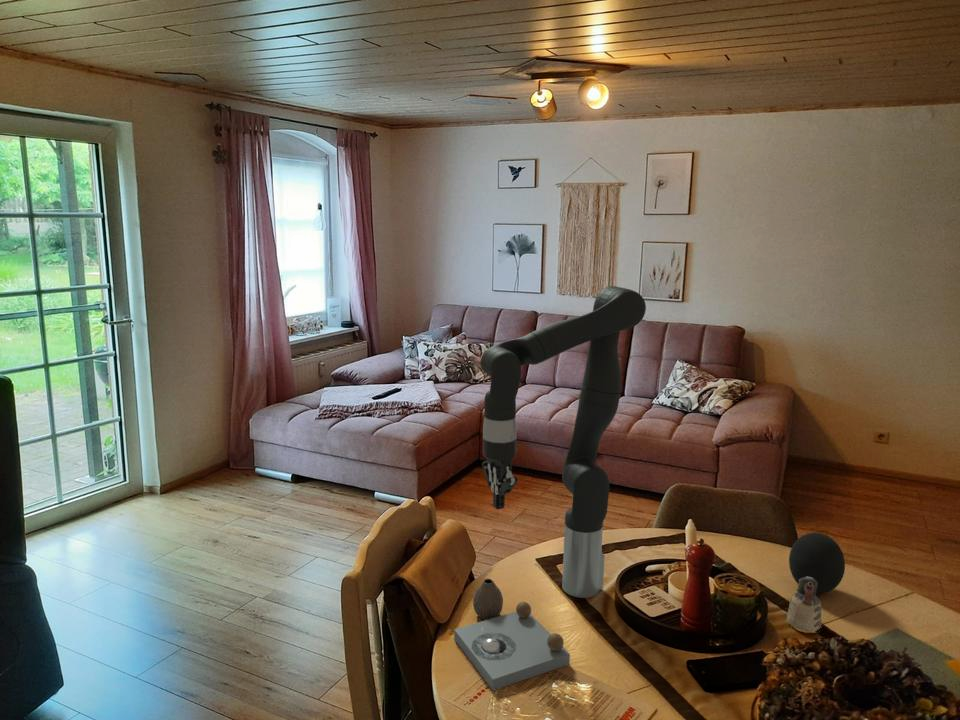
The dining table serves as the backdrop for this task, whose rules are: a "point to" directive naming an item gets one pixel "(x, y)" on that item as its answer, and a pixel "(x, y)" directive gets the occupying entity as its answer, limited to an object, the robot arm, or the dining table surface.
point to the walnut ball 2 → (555, 642)
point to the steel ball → (491, 646)
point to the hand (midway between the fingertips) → (498, 507)
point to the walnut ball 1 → (523, 609)
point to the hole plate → (510, 649)
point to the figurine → (805, 606)
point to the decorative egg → (817, 561)
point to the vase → (488, 600)
